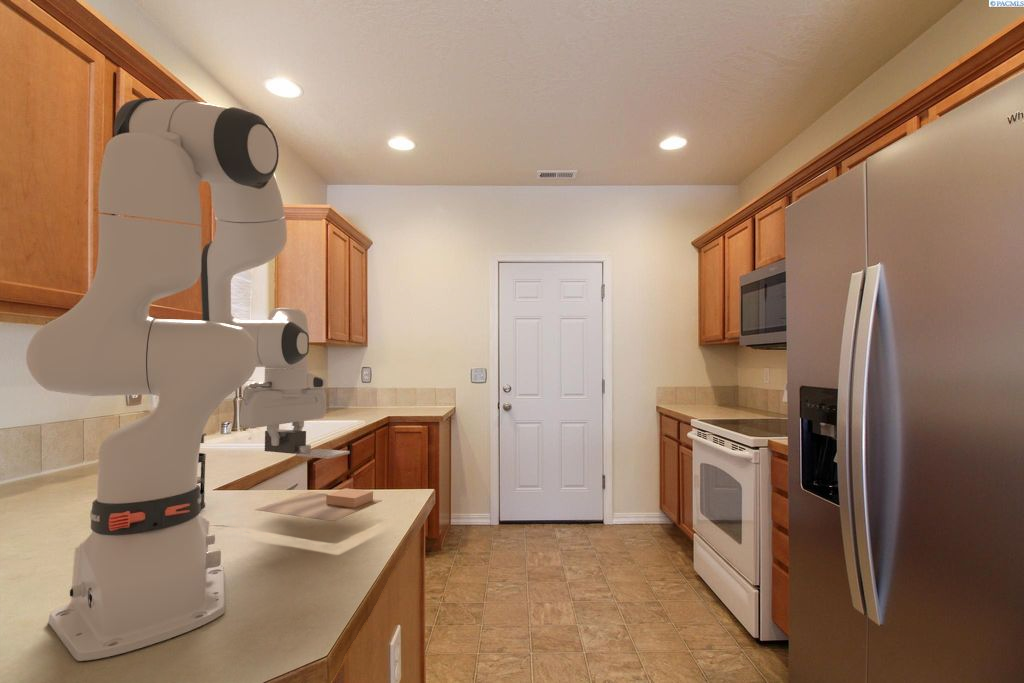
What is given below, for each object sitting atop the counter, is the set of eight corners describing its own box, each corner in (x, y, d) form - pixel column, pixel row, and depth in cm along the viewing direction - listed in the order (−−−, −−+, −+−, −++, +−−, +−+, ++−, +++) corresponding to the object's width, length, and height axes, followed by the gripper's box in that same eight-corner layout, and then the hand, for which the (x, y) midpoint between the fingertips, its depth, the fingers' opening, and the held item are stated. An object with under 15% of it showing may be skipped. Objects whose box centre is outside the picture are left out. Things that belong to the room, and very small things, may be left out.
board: (382, 507, 103) (382, 500, 103) (333, 528, 89) (333, 521, 89) (309, 498, 111) (309, 491, 111) (254, 516, 97) (254, 509, 97)
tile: (345, 497, 106) (372, 500, 103) (326, 504, 100) (354, 508, 97) (345, 488, 106) (373, 491, 103) (326, 494, 100) (354, 498, 97)
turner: (349, 453, 97) (350, 432, 97) (328, 458, 91) (329, 436, 91) (281, 447, 104) (282, 428, 104) (258, 452, 99) (259, 431, 99)
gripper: (254, 383, 90) (253, 452, 89) (331, 380, 109) (330, 437, 108) (233, 382, 92) (231, 450, 91) (311, 380, 111) (310, 436, 110)
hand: (285, 443), depth 100 cm, fingers closed on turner, 3 cm apart
